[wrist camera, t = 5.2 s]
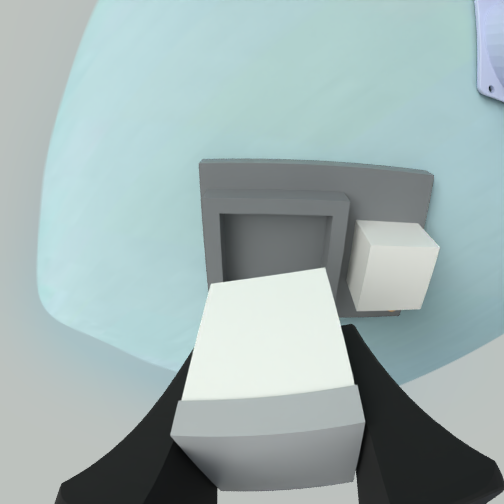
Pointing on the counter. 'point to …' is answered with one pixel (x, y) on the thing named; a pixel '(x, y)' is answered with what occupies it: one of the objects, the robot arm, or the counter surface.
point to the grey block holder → (321, 228)
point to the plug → (271, 387)
